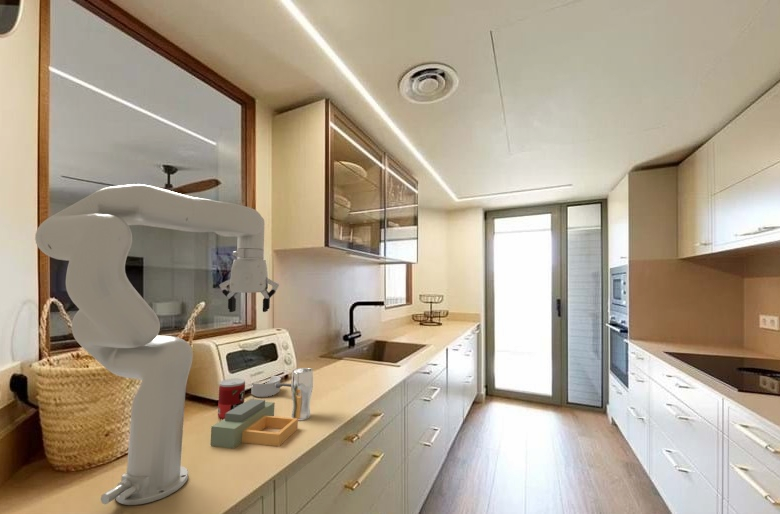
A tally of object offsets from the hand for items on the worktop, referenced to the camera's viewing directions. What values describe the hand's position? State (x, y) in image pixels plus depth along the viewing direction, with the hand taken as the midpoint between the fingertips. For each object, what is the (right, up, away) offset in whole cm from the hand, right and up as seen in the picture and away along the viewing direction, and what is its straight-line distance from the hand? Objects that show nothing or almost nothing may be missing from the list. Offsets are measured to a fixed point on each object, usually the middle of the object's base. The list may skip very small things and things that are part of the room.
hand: (248, 311), depth 99 cm
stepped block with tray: (+5, -35, -3) cm, 36 cm away
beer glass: (+14, -36, +8) cm, 40 cm away
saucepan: (-3, -38, +28) cm, 48 cm away
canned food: (-10, -36, +9) cm, 38 cm away
